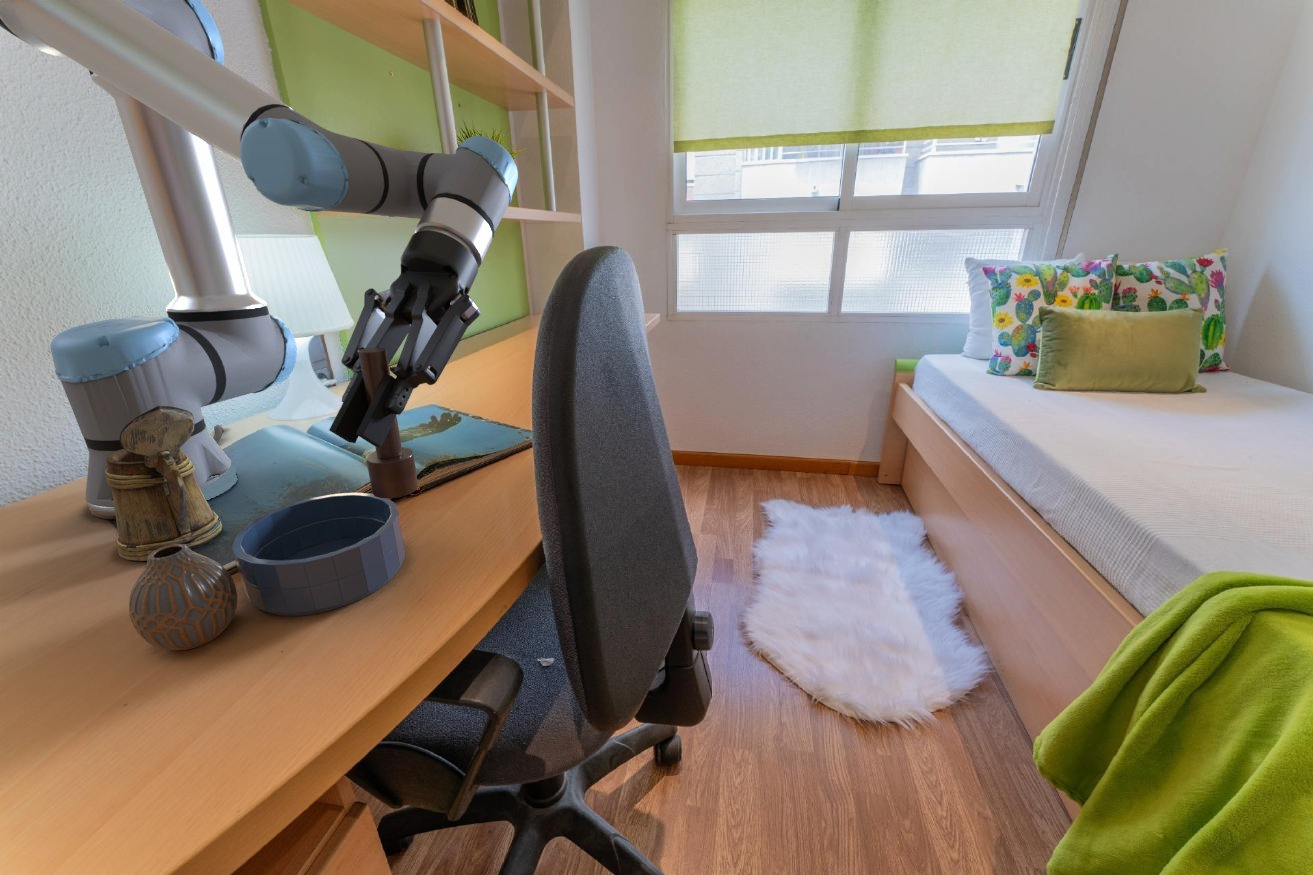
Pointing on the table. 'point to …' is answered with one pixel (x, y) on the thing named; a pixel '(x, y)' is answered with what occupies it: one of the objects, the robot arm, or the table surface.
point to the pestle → (391, 461)
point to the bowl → (319, 553)
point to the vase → (182, 599)
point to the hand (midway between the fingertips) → (355, 438)
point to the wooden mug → (157, 486)
